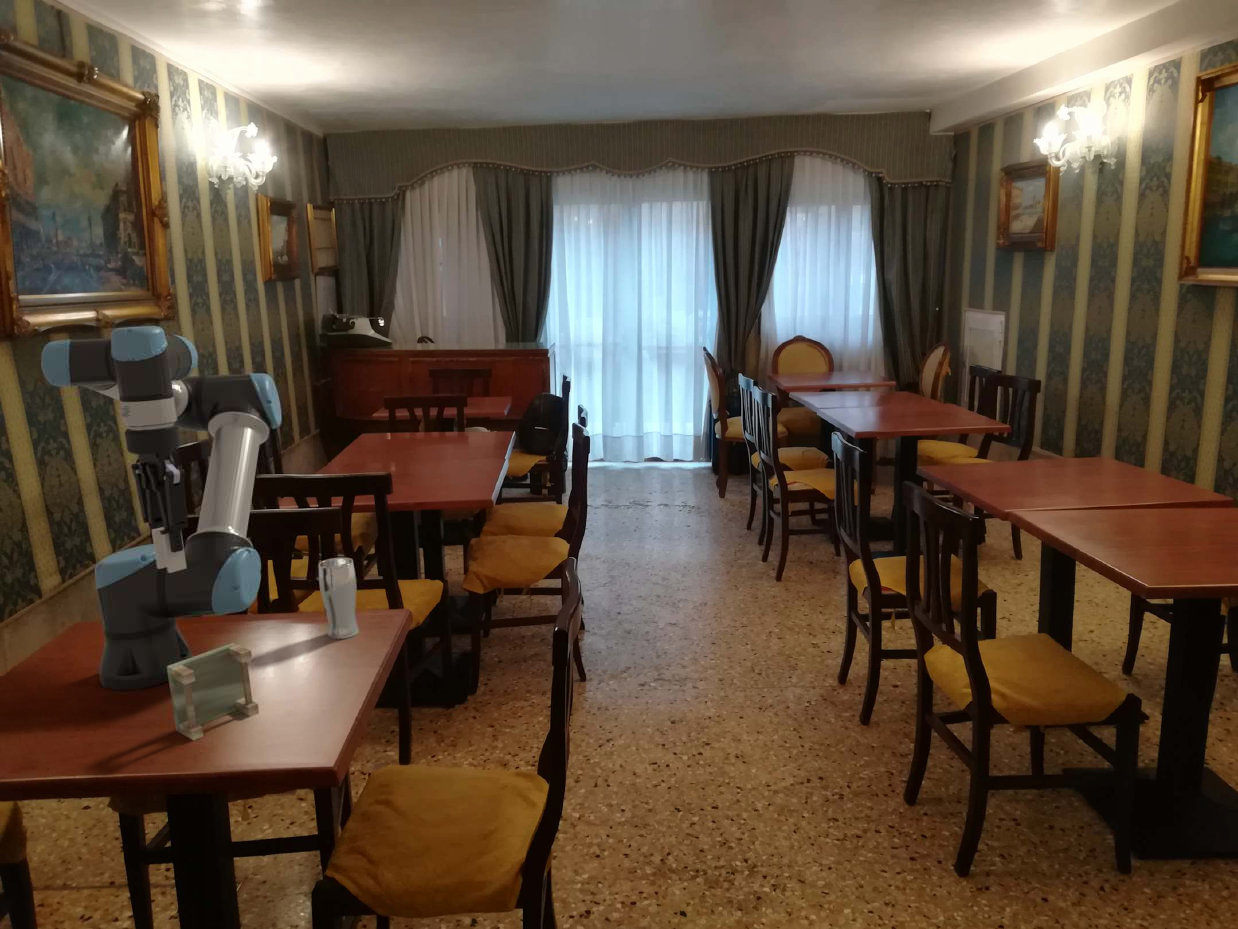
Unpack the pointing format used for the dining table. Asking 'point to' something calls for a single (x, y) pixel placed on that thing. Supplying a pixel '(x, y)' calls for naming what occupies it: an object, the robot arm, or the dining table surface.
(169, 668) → the footstool
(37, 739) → the dining table surface
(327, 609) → the beer glass
